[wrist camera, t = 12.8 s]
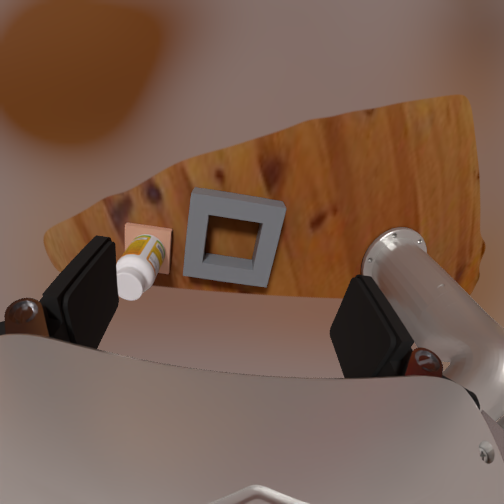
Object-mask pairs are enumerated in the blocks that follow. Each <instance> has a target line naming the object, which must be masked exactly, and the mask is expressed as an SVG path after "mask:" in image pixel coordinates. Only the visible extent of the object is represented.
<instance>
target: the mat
mask: <svg viewBox="0 0 504 504" xmlns="http://www.w3.org/2000/svg"><path fill="white" fill-rule="evenodd" d="M172 230H173V229H169V228H162V227H156V226H149V225H142V224H135V223H128V222H127V223H126V224H125V251H126V249H127V248H128V247H129V245H130V244H131V243H132V241H133V240H134V239H135V238H136V237H137V236H139V235H143V234H149V235H153V236H155V237H157V238H158V239H159V240H160V241H161V242H162V244H163V245H164V248H165V258H164V261H163V263H162V265H161V267H160V269H159V271H158V273H163V274H169V272H170V259H171V243H172Z"/></svg>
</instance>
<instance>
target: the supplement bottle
mask: <svg viewBox="0 0 504 504" xmlns="http://www.w3.org/2000/svg"><path fill="white" fill-rule="evenodd" d="M164 258H165V248H164V245H163V244H162V242H161V241H160V240H159V239H158V238H157V237H155V236H153V235H149V234H143V235H139V236H137V237H136V238H135V239H134V240H133V241H132V243H131V244H130V245H129V247H128V248H127V249H126V251H125V252H124V254H123V255H122V256H121V258H120V259H119V261H118V262H117V264H116V271H117V285H118V295H119V296H120V297H122V298H123V299H126V300H136V299H138V298H139V297H140V296H141V295H142V293H143V292H145V291H147V290H148V289H149V288H150V287H151V286H152V284H153V283H154V280H155V278H156V276H157V274H158V271H159V269H160V267H161V265H162V263H163V261H164Z"/></svg>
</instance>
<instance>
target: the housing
mask: <svg viewBox="0 0 504 504" xmlns="http://www.w3.org/2000/svg"><path fill="white" fill-rule="evenodd" d="M285 212H286V207H285V205H284V203H283V202H282V201H277V200H271V199H266V198H260V197H254V196H248V195H242V194H236V193H230V192H224V191H217V190H211V189H204V188H197V187H195V188H194V190H193V191H192V193H191V200H190V209H189V217H188V227H187V237H186V247H185V258H184V270H183V276H190V277H196V278H203V279H209V280H216V281H223V282H230V283H237V284H244V285H252V286H259V287H267V284H268V280H269V276H270V272H271V268H272V264H273V260H274V256H275V252H276V249H277V245H278V241H279V236H280V232H281V228H282V224H283V220H284V216H285ZM210 215H213V216H220V217H226V218H232V219H239V220H245V221H251V222H257V223H260V224H259V229H258V233H257V238H256V243H255V247H254V252H253V257H252V260H249V259H242V258H236V257H229V256H222V255H216V254H209V253H205V245H206V238H207V230H208V223H209V216H210Z"/></svg>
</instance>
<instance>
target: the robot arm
mask: <svg viewBox="0 0 504 504" xmlns="http://www.w3.org/2000/svg"><path fill="white" fill-rule="evenodd" d="M361 273H362V275H357V276H356V277H355V278H352V279H351V281H350V284H349V286H348V289H347V291H346V293H345V296H344V298H343V301H342V303H341V306H340V308H339V310H338V312H337V314H336V317H335V319H334V321H333V323H332V326H331V328H330V337H331V340H332V343H333V345H334V348H335V351H336V354H337V357H338V360H339V363H340V366H341V369H342V371H343V375H344V377H345V378H296V377H275V376H260V375H247V374H237V373H227V372H218V371H209V370H202V369H195V368H188V367H181V366H175V365H169V364H163V363H158V362H152V361H147V360H142V359H137V358H132V357H128V356H123V355H119V354H114V353H110V352H106V351H102V350H98V349H97V348H98V345H99V343H100V341H101V339H102V337H103V335H104V333H105V331H106V329H107V327H108V325H109V323H110V321H111V319H112V317H113V315H114V313H115V311H116V309H117V307H118V302H119V298H118V285H117V271H116V251H115V243H114V242H112V241H111V238H109V237H103V236H95V237H94V238H93V239H92V240H91V241H90V242H89V243H88V244H87V245H86V246H85V247H84V248H83V249H82V250H81V251H80V253H79V254H78V255H77V256H76V257H75V258H74V259H73V260H72V261H71V262H70V263H69V264H68V265H67V266H66V268H65V269H64V270H63V271H62V272H61V273H60V274H59V276H58V277H57V278H56V279H55V280H54V281H53V282H52V283H51V285H50V286H49V287H48V288H47V289H46V291H45V292H44V293H43V297H42V298H41V300H40V301H38V300H36V299H33V298H22V299H19V300H16V301H14V302H13V303H11V304H10V305H9V306H8V307H7V309H6V311H5V316H4V317H5V321H3V322H0V504H504V416H503V415H504V328H503V327H502V326H500V325H499V324H498V323H497V322H496V321H495V320H494V319H492V318H491V317H490V316H489V315H488V314H487V313H486V312H485V311H484V310H483V309H482V308H481V307H480V306H479V305H478V304H477V303H476V302H475V301H474V300H473V299H472V298H471V297H470V296H469V295H468V293H467V292H465V291H464V289H463V288H462V287H461V286H460V285H459V284H458V283H457V282H456V281H455V280H454V279H453V278H452V277H451V276H450V275H449V274H448V273H447V272H446V271H445V270H444V269H443V268H442V267H440V266H439V265H438V264H437V263H436V262H435V261H434V260H433V259H432V258H431V257H430V256H429V255H428V254H427V248H426V244H425V242H424V240H423V238H422V237H421V236H420V235H419V234H418V233H417V232H416V231H414V230H412V229H410V228H406V227H398V228H393V229H391V230H388V231H386V232H384V233H383V234H381V235H380V236H379V237H378V238H376V239H375V240H374V242H373V243H372V244H371V245H370V246H369V248H368V250H367V251H366V253H365V256H364V258H363V262H362V268H361ZM414 342H415V344H416V346H417V347H418V348H416V349H414V350H412V349H411V346H412V345H413V343H414ZM442 361H444V362H451V363H450V365H449V366H448V368H447V369H446V370H445V371H444V372H443V364H442ZM501 416H503V417H502V418H500V417H501ZM499 418H500V419H499ZM498 419H499V420H498ZM497 420H498V421H497ZM496 421H497V422H496Z"/></svg>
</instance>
